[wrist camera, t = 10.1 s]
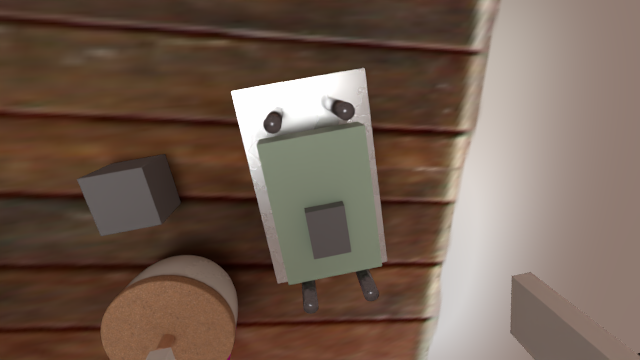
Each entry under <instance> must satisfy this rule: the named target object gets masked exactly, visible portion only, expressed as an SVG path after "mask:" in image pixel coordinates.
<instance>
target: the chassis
mask: <svg viewBox="0 0 640 360" xmlns="http://www.w3.org/2000/svg"><path fill="white" fill-rule="evenodd" d="M231 94H232V98H233V102H234V106H235V110H236V114H237V118H238V123H239V127H240V131H241V135H242V139H243V143H244V147H245V151H246V155H247V160H248V164H249V168H250V172H251V176H252V180H253V184H254V188H255V192H256V196H257V201H258V205H259V209H260V213H261V217H262V221H263V225H264V229H265V233H266V238H267V242H268V246H269V250H270V254H271V258H272V262H273V266H274V270H275V275H276V279H277V283H283V282H288V279H287V275H286V271H285V266H284V262H283V258H282V253H281V249H280V245H279V240H278V236H277V232H276V227H275V223H274V219H273V214H272V210H271V206H270V201H269V197H268V193H267V189H266V184H265V180H264V176H263V171H262V167H261V163H260V158H259V154H258V150H257V143H258V141H259V139H264V138H269V137H275V136H280V135H286V134H291V133H297V132H302V131H308V130H313V129H319V128H324V127H330V126H335V125H341V124H346V123H352V122H357V121H358V122H360V123H362V124H364V125H365V130H366V138H367V146H368V154H369V163H370V171H371V179H372V187H373V195H374V203H375V211H376V220H377V228H378V236H379V244H380V252H381V260H382V262H386V261H387V255H386V246H385V238H384V229H383V220H382V212H381V203H380V195H379V186H378V178H377V169H376V160H375V152H374V143H373V135H372V126H371V118H370V109H369V100H368V92H367V83H366V75H365V68H361V69H355V70H349V71H344V72H338V73H332V74H327V75H321V76H315V77H309V78H304V79H298V80H292V81H286V82H281V83H275V84H269V85H264V86H258V87H252V88H246V89H241V90H235V91H231ZM356 275H357V277H358V280H359V283H360V286H361V288H362V291H363V294H364V297H365V299H366V300H368V301H374V300H376V299H377V298H378V296H379V292H378V290H377V287H376V285H375V283H374V281H373V278H372V276H371V274H370V271H369V269H365V270H360V271H356ZM302 293H303V307H304V311H305V312H307V313H310V314H311V313H315V312H316V311H317V310H318V299H317V292H316V285H315V280H311V281H306V282H302Z"/></svg>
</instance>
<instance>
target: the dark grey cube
mask: <svg viewBox="0 0 640 360" xmlns="http://www.w3.org/2000/svg"><path fill="white" fill-rule="evenodd" d="M77 180H78V183H79V185H80V187H81V190H82V192H83V194H84V197H85V199H86V202H87V204H88V206H89V209H90V211H91V214H92V216H93V218H94V221H95V223H96V225H97V228H98V230H99V233H100V235H101V236H104V235H109V234H114V233H120V232H125V231H130V230H135V229H140V228H146V227H151V226H156V225H161V224H163V222H164V221H165V220H166V219H167V218H168V217H169V216H170V215H171V214H172V212H173V211H174V210H175V209H176V208H177V207H178V206H179V205H180V204H181V202H180V199H179V195H178V192H177V189H176V186H175V183H174V180H173V177H172V174H171V171H170V168H169V165H168V161H167V158H166V155H165V154H163V155H157V156H152V157H146V158H141V159H135V160H130V161H124V162H119V163H113V164H110V165H108V166H105V167H103V168H101V169H99V170H96V171H94V172H92V173H90V174H88V175H85V176H83V177H81V178H79V179H77Z"/></svg>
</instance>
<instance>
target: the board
mask: <svg viewBox="0 0 640 360" xmlns="http://www.w3.org/2000/svg"><path fill="white" fill-rule="evenodd" d="M257 150H258V154H259V158H260V163H261V167H262V171H263V176H264V180H265V184H266V189H267V193H268V197H269V201H270V206H271V210H272V214H273V219H274V223H275V227H276V232H277V236H278V240H279V245H280V249H281V253H282V258H283V262H284V266H285V271H286V275H287V279H288V284H289V285H292V284H297V283H301V282H306V281H311V280H316V279H321V278H326V277H331V276H336V275H341V274H346V273H351V272H356V271H360V270H365V269H370V268H375V267H380V266H382V260H381V252H380V244H379V236H378V228H377V220H376V211H375V203H374V195H373V187H372V179H371V171H370V163H369V154H368V146H367V138H366V130H365V125H364V124H362V123H360V122H358V121H357V122H352V123H346V124H341V125H335V126H330V127H324V128H319V129H313V130H308V131H302V132H297V133H291V134H286V135H280V136H275V137H269V138H264V139H259V141H258V143H257Z"/></svg>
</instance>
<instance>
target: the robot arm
mask: <svg viewBox="0 0 640 360" xmlns="http://www.w3.org/2000/svg"><path fill="white" fill-rule="evenodd" d="M511 292H512V293H511V330H510V332H511V334H512V335H513V336H514V337H515V338H516V339H517V341H518V342H519V343H520V344H521V345H522V346H523V347H524V348H525V349H526V351H527V352H528V353H529V354H530V355H531V356H532V357H533V358H534V359H535V360H640V353H638V354H637V353H635V352H634V351H633V350H631V349H630V348H629V347H627V346H626V345H625V344H623V343H622V342H621V341H620V340H618V339H617V338H616V337H614V336H613V335H612V334H611V333H609V332H608V331H607V330H605V329H604V328H603V327H601V326H600V325H599V324H598V323H596V322H595V321H594V320H592V319H591V318H590V317H588V316H587V315H586V314H584V313H583V312H582V311H580V310H579V309H578V308H576V307H575V306H574V305H573V304H572V303H570V302H569V301H568V300H566V299H565V298H564V297H562V296H561V295H560V294H558V293H557V292H556V291H555V290H553V289H552V288H551V287H549V286H548V285H547V284H545V283H544V282H543V281H542V280H540V279H539V278H538V277H536V276H535V275H534V274H532V273H531V272H529V273H524V274H519V275H514V276H512V290H511ZM146 360H176V359H175V357H174V354H173V352H172V349H171V347H169V348H165V349H160V350H155V351H150V352H149V354H148V356H147V358H146Z"/></svg>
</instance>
